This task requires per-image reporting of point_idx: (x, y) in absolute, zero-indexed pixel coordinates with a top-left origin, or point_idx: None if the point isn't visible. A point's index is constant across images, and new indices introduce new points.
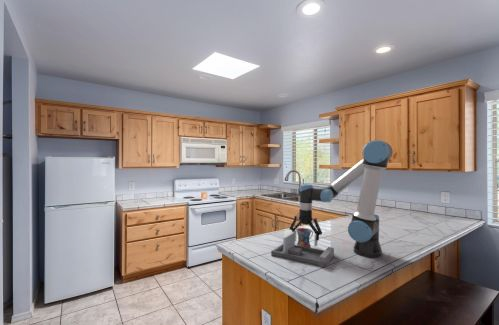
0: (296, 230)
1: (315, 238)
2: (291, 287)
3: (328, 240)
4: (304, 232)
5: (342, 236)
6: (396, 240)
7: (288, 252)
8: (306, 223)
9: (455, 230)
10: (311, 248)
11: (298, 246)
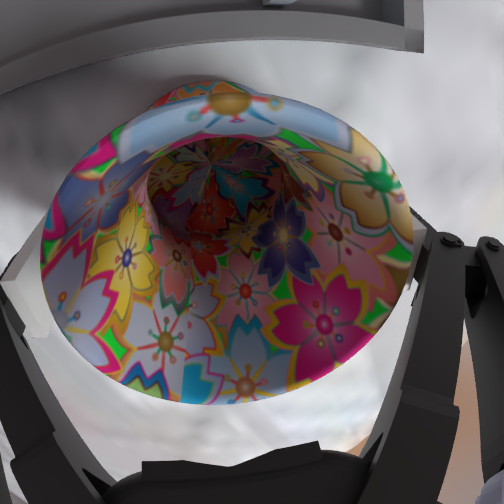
0: (396, 178)
1: (26, 249)
2: None
3: (144, 402)
4: (109, 134)
5: (137, 454)
6: (10, 460)
7: None
8: (173, 500)
9: (26, 500)
10: (34, 59)
11: (214, 12)
